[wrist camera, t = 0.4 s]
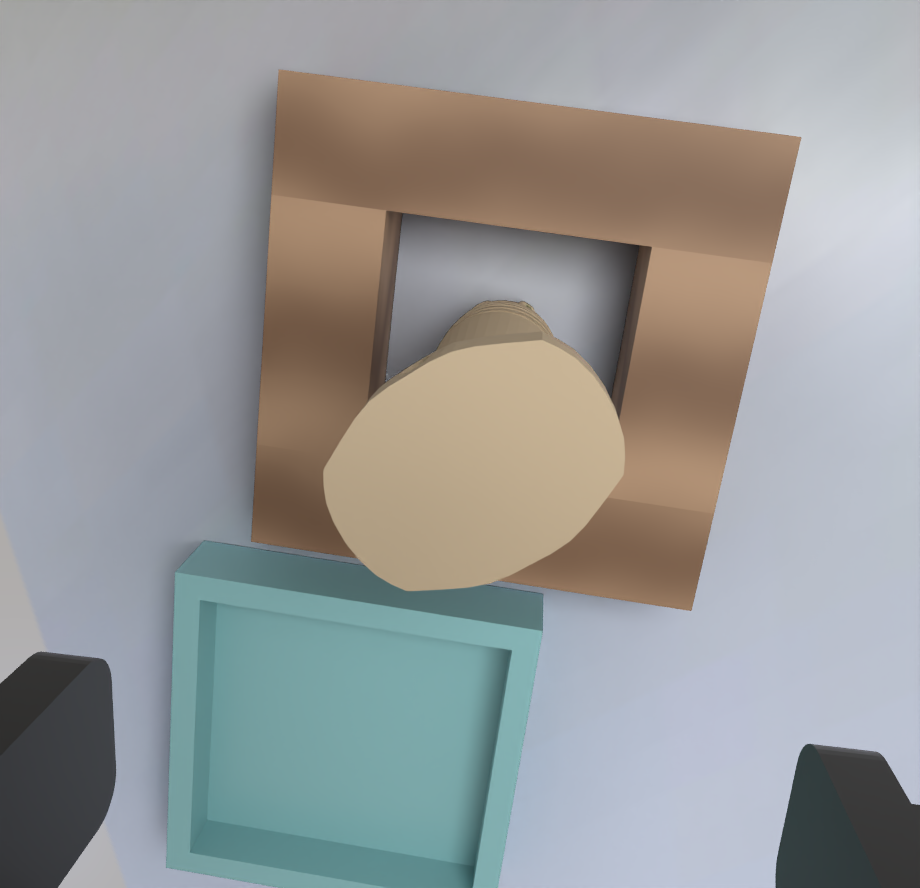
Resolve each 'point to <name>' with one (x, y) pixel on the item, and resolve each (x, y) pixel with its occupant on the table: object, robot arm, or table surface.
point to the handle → (476, 456)
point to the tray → (343, 723)
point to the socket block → (531, 208)
